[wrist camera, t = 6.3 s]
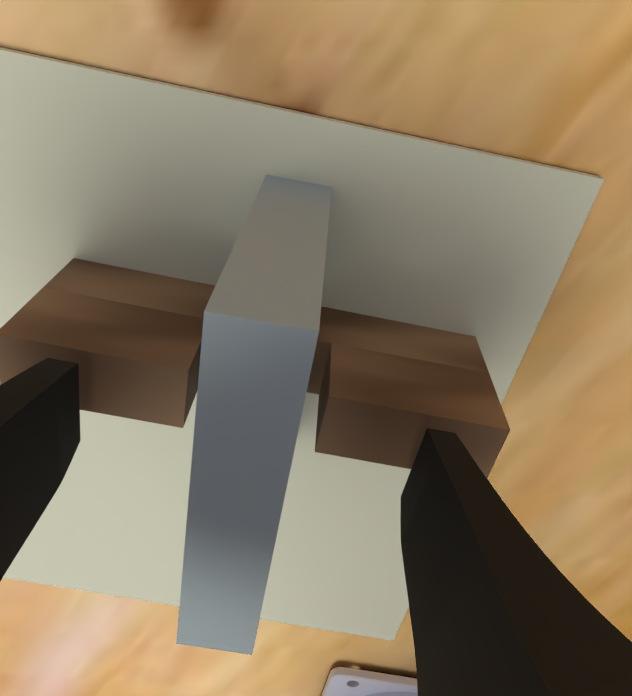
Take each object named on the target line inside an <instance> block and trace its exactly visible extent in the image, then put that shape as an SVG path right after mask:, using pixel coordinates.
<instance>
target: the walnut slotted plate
mask: <svg viewBox="0 0 632 696" xmlns="http://www.w3.org/2000/svg"><path fill="white" fill-rule="evenodd" d="M214 288H215V285H209V284H204V283H199V282H194V281H189V280H184V279H179V278H174V277H169V276H163V275H158V274H153V273H148V272H143V271H138V270H133V269H128V268H123V267H117V266H112V265H107V264H102V263H97V262H92V261H87V260H82V259H76V258H73V259H72V260H71V261H70V262H69V263H68V264H67V265H66V266H65V267H64V268H63V269H62V270H60V271H59V272H58V273H57V274H56V275H55V276H54V277H53V278H52V279H51V280H50V281H49V282H48V283H47V284H46V285H45V286H44V287H43V288H42V289H41V290H40V291H39V292H38V293H37V294H36V295H35V296H33V297H32V298H31V299H30V300H29V301H28V302H27V303H26V304H25V305H24V306H23V307H22V308H21V309H20V310H19V311H18V312H17V313H16V314H15V315H14V316H13V317H12V318H11V319H10V320H9V321H8V322H6V323H5V324H4V325H3V326H2V327H1V328H0V385H1V384H3V383H4V382H6V381H8V380H9V379H11V378H13V377H15V376H16V375H18V374H20V373H21V372H23V371H25V370H27V369H28V368H30V367H32V366H34V365H35V364H37V363H39V362H41V361H43V360H45V359H46V358H52V359H58V360H63V361H68V362H74V363H78V369H79V404H80V410H85V411H90V412H96V413H101V414H107V415H112V416H118V417H123V418H129V419H135V420H140V421H146V422H151V423H157V424H162V425H168V426H173V427H179V428H183V427H184V424H185V422H186V419H187V417H188V414H189V411H190V409H191V406H192V403H193V401H194V398H195V396H196V393H197V390H198V378H199V366H200V354H201V342H202V330H203V318H204V310H205V308H206V306H207V304H208V301H209V299H210V297H211V295H212V293H213V290H214ZM307 392H308V393H313V394H318V395H319V401H318V414H317V428H316V441H315V452H318V453H323V454H329V455H334V456H340V457H346V458H351V459H357V460H362V461H368V462H373V463H379V464H384V465H390V466H395V467H401V468H407V469H411V468H412V466H413V463H414V461H415V458H416V455H417V453H418V450H419V448H420V445H421V442H422V440H423V437H424V434H425V432H426V429H427V428H431V429H436V430H442V431H447V432H452V433H456V434H457V436H458V437H459V439H460V440H461V442H462V443H463V444H464V446H465V447H466V449H467V450H468V452H469V453H470V455H471V456H472V458H473V459H474V461H475V462H476V464H477V465H478V466H479V468H480V469H481V471H482V472H483V474H484V475H485V477H486V478H487V477H488V475H489V473H490V471H491V469H492V467H493V465H494V462H495V460H496V458H497V456H498V454H499V452H500V450H501V448H502V446H503V444H504V442H505V440H506V438H507V435H508V433H509V431H510V428H509V426H508V423H507V420H506V417H505V415H504V412H503V409H502V407H501V404H500V401H499V398H498V396H497V393H496V390H495V388H494V385H493V382H492V379H491V377H490V374H489V371H488V369H487V366H486V363H485V361H484V358H483V355H482V352H481V350H480V347H479V344H478V342H477V339H476V336H470V335H465V334H460V333H455V332H450V331H445V330H440V329H435V328H429V327H424V326H419V325H414V324H409V323H404V322H399V321H394V320H389V319H383V318H378V317H373V316H368V315H363V314H358V313H353V312H348V311H343V310H337V309H332V308H327V307H322V306H321V315H320V326H319V334H318V339H317V344H316V348H315V353H314V358H313V363H312V368H311V373H310V377H309V382H308V387H307Z"/></svg>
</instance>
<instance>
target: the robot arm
mask: <svg viewBox="0 0 632 696" xmlns="http://www.w3.org/2000/svg"><path fill="white" fill-rule="evenodd" d="M80 440H81V439H80V404H79V369H78V363H74V362H68V361H63V360H58V359H52V358H46V359H45V360H43V361H41V362H39V363H37V364H35V365H34V366H32V367H30V368H28V369H27V370H25V371H23V372H21V373H20V374H18V375H16V376H15V377H13V378H11V379H9V380H8V381H6V382H4V383H3V384H1V385H0V581H1V579H2V578H3V576H4V574H5V573H6V571H7V570H8V568H9V566H10V565H11V563H12V562H13V560H14V559H15V557H16V555H17V554H18V552H19V551H20V549H21V547H22V546H23V544H24V543H25V541H26V539H27V538H28V536H29V535H30V533H31V531H32V530H33V528H34V527H35V525H36V523H37V522H38V520H39V519H40V517H41V515H42V514H43V512H44V511H45V509H46V507H47V506H48V504H49V502H50V501H51V499H52V498H53V496H54V494H55V493H56V491H57V489H58V488H59V486H60V484H61V483H62V480H63V478H64V476H65V474H66V472H67V470H68V468H69V465H70V463H71V461H72V459H73V456H74V454H75V452H76V450H77V447H78V445H79V443H80ZM400 524H401V548H402V556H403V564H404V572H405V579H406V587H407V594H408V601H409V609H410V616H411V624H412V631H413V638H414V646H415V656H416V667H417V679H416V678H410V677H404V676H397V675H391V674H385V673H378V672H372V671H366V670H359V669H353V668H347V667H336V668H334V669H332V670H331V672H330V674H329V676H328V679H327V682H326V684H325V687H324V690H323V692H322V695H321V696H632V642H631V641H630V640H629V639H627V638H626V637H625V636H624V635H623V634H622V633H621V632H620V631H619V630H618V629H617V628H616V627H615V626H613V625H612V624H611V623H610V622H609V621H608V620H607V619H606V618H605V617H604V616H603V615H602V614H601V613H600V612H599V611H598V610H597V609H596V608H595V607H594V606H593V605H592V604H591V603H590V602H589V601H587V600H586V598H585V597H584V596H583V595H582V594H581V593H580V592H579V591H578V590H577V589H576V588H575V587H574V586H573V585H572V584H571V583H570V582H569V580H568V579H567V578H566V577H565V576H564V575H563V574H562V573H561V572H560V571H559V570H558V569H557V568H556V566H555V565H554V564H553V563H552V562H551V561H550V560H549V559H548V557H547V556H546V555H545V554H544V553H543V552H542V550H541V549H540V548H539V547H538V545H537V544H536V543H535V542H534V541H533V539H532V538H531V537H530V536H529V534H528V533H527V532H526V531H525V530H524V528H523V527H522V526H521V524H520V523H519V522H518V521H517V519H516V518H515V517H514V515H513V514H512V513H511V511H510V510H509V509H508V507H507V506H506V505H505V503H504V502H503V501H502V499H501V498H500V496H499V495H498V494H497V492H496V491H495V489H494V488H493V487H492V485H491V484H490V482H489V481H488V480H487V478H486V477H485V475H484V474H483V472H482V471H481V469H480V468H479V466H478V465H477V464H476V462H475V461H474V459H473V458H472V456H471V455H470V453H469V452H468V450H467V449H466V447H465V446H464V444H463V443H462V442H461V440H460V439H459V437H458V436H457V434H456V433H452V432H447V431H442V430H436V429H431V428H427V429H426V432H425V434H424V437H423V440H422V442H421V445H420V448H419V450H418V453H417V455H416V458H415V461H414V463H413V466H412V468H411V471H410V474H409V476H408V479H407V482H406V484H405V487H404V489H403V492H402V495H401V515H400Z"/></svg>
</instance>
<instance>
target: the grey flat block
mask: <svg viewBox="0 0 632 696" xmlns="http://www.w3.org/2000/svg"><path fill="white" fill-rule="evenodd" d="M331 190H332V187H329V186H324V185H318V184H313V183H308V182H303V181H297V180H292V179H287V178H282V177H276V176H271V175H266V176H265V178H264V181H263V183H262V185H261V187H260V189H259V191H258V194H257V196H256V198H255V200H254V202H253V205H252V207H251V209H250V211H249V213H248V216H247V218H246V220H245V222H244V224H243V227H242V229H241V231H240V233H239V235H238V238H237V240H236V242H235V244H234V246H233V249H232V251H231V253H230V255H229V257H228V260H227V262H226V264H225V266H224V268H223V271H222V273H221V275H220V277H219V279H218V282H217V284H216V286H215V288H214V290H213V293H212V295H211V297H210V299H209V301H208V304H207V306H206V308H205V310H204V318H203V330H202V342H201V354H200V366H199V378H198V390H197V402H196V414H195V426H194V438H193V450H192V462H191V474H190V486H189V498H188V510H187V522H186V534H185V546H184V558H183V570H182V582H181V594H180V606H179V618H178V630H177V642H176V644H182V645H189V646H196V647H203V648H210V649H216V650H223V651H230V652H237V653H243V654H250V655H252V653H253V648H254V643H255V638H256V634H257V629H258V624H259V619H260V614H261V609H262V605H263V600H264V595H265V590H266V585H267V580H268V576H269V571H270V566H271V561H272V556H273V551H274V547H275V542H276V537H277V532H278V527H279V522H280V518H281V513H282V508H283V503H284V498H285V493H286V489H287V484H288V479H289V474H290V469H291V464H292V460H293V455H294V450H295V445H296V440H297V435H298V431H299V426H300V421H301V416H302V411H303V406H304V402H305V397H306V392H307V387H308V382H309V377H310V373H311V368H312V363H313V358H314V353H315V348H316V344H317V339H318V334H319V326H320V315H321V303H322V292H323V280H324V269H325V258H326V246H327V235H328V224H329V212H330V201H331Z"/></svg>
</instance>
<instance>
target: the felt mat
mask: <svg viewBox="0 0 632 696" xmlns="http://www.w3.org/2000/svg"><path fill="white" fill-rule="evenodd" d="M266 175H271V176H276V177H282V178H287V179H292V180H297V181H303V182H308V183H313V184H318V185H324V186H329V187H332V190H331V201H330V212H329V224H328V235H327V246H326V258H325V269H324V280H323V292H322V303H321V306H322V307H327V308H332V309H337V310H343V311H348V312H353V313H358V314H363V315H368V316H373V317H378V318H383V319H389V320H394V321H399V322H404V323H409V324H414V325H419V326H424V327H429V328H435V329H440V330H445V331H450V332H455V333H460V334H465V335H470V336H476V339H477V342H478V344H479V347H480V350H481V352H482V355H483V358H484V361H485V363H486V366H487V369H488V371H489V374H490V377H491V379H492V382H493V385H494V388H495V390H496V393H497V396H498V398H499V401H500V404H501V405H502V402H503V400H504V398H505V396H506V394H507V391H508V389H509V387H510V385H511V383H512V381H513V378H514V376H515V374H516V372H517V370H518V367H519V365H520V363H521V361H522V359H523V356H524V354H525V352H526V350H527V348H528V346H529V343H530V341H531V339H532V337H533V335H534V332H535V330H536V328H537V326H538V324H539V321H540V319H541V317H542V315H543V313H544V311H545V308H546V306H547V304H548V302H549V300H550V297H551V295H552V293H553V291H554V289H555V286H556V284H557V282H558V280H559V278H560V276H561V273H562V271H563V269H564V267H565V265H566V262H567V260H568V258H569V256H570V254H571V251H572V249H573V247H574V245H575V243H576V241H577V238H578V236H579V234H580V232H581V230H582V227H583V225H584V223H585V221H586V219H587V216H588V214H589V212H590V210H591V208H592V206H593V203H594V201H595V199H596V197H597V195H598V192H599V190H600V188H601V186H602V184H603V182H604V179H603V178H601V177H600V176H597V175H592V174H587V173H583V172H578V171H573V170H569V169H564V168H559V167H555V166H550V165H546V164H541V163H536V162H532V161H527V160H522V159H518V158H513V157H508V156H504V155H499V154H494V153H490V152H485V151H481V150H476V149H471V148H467V147H462V146H457V145H453V144H448V143H443V142H439V141H434V140H429V139H425V138H420V137H416V136H411V135H406V134H402V133H397V132H392V131H388V130H383V129H378V128H374V127H369V126H364V125H360V124H355V123H350V122H346V121H341V120H337V119H332V118H327V117H323V116H318V115H313V114H309V113H304V112H299V111H295V110H290V109H285V108H281V107H276V106H272V105H267V104H262V103H258V102H253V101H248V100H244V99H239V98H234V97H230V96H225V95H220V94H216V93H211V92H207V91H202V90H197V89H193V88H188V87H183V86H179V85H174V84H169V83H165V82H160V81H155V80H151V79H146V78H141V77H137V76H132V75H128V74H123V73H118V72H114V71H109V70H104V69H100V68H95V67H90V66H86V65H81V64H76V63H72V62H67V61H63V60H58V59H53V58H49V57H44V56H39V55H35V54H30V53H25V52H21V51H16V50H11V49H7V48H2V47H0V328H1V327H2V326H3V325H4V324H5V323H6V322H8V321H9V320H10V319H11V318H12V317H13V316H14V315H15V314H16V313H17V312H18V311H19V310H20V309H21V308H22V307H23V306H24V305H25V304H26V303H27V302H28V301H29V300H30V299H31V298H32V297H33V296H35V295H36V294H37V293H38V292H39V291H40V290H41V289H42V288H43V287H44V286H45V285H46V284H47V283H48V282H49V281H50V280H51V279H52V278H53V277H54V276H55V275H56V274H57V273H58V272H59V271H60V270H62V269H63V268H64V267H65V266H66V265H67V264H68V263H69V262H70V261H71V260H72V259H73V258H76V259H82V260H87V261H92V262H97V263H102V264H107V265H112V266H117V267H123V268H128V269H133V270H138V271H143V272H148V273H153V274H158V275H163V276H169V277H174V278H179V279H184V280H189V281H194V282H199V283H204V284H209V285H215V286H216V284H217V282H218V279H219V277H220V275H221V273H222V271H223V268H224V266H225V264H226V262H227V260H228V257H229V255H230V253H231V251H232V249H233V246H234V244H235V242H236V240H237V238H238V235H239V233H240V231H241V229H242V227H243V224H244V222H245V220H246V218H247V216H248V213H249V211H250V209H251V207H252V205H253V202H254V200H255V198H256V196H257V194H258V191H259V189H260V187H261V185H262V183H263V181H264V178H265V176H266ZM318 401H319V395H318V394H313V393H308V392H306V397H305V402H304V406H303V411H302V416H301V421H300V426H299V431H298V435H297V440H296V445H295V450H294V455H293V460H292V464H291V469H290V474H289V479H288V484H287V489H286V493H285V498H284V503H283V508H282V513H281V518H280V522H279V527H278V532H277V537H276V542H275V547H274V551H273V556H272V561H271V566H270V571H269V576H268V580H267V585H266V590H265V595H264V600H263V605H262V609H261V614H260V619H261V620H268V621H274V622H280V623H286V624H292V625H298V626H305V627H311V628H317V629H323V630H329V631H335V632H342V633H348V634H354V635H360V636H366V637H373V638H379V639H385V640H391V641H394V639H395V636H396V634H397V632H398V630H399V628H400V625H401V623H402V621H403V619H404V617H405V615H406V612H407V610H408V608H409V601H408V594H407V587H406V579H405V572H404V564H403V556H402V548H401V524H400V515H401V495H402V492H403V489H404V487H405V484H406V482H407V479H408V476H409V474H410V471H411V469H407V468H401V467H395V466H390V465H384V464H379V463H373V462H368V461H362V460H357V459H351V458H346V457H340V456H334V455H329V454H323V453H318V452H315V441H316V428H317V414H318ZM196 402H197V393H196V396H195V398H194V401H193V403H192V406H191V409H190V411H189V414H188V417H187V419H186V422H185V424H184V427H183V428H179V427H173V426H168V425H162V424H157V423H151V422H146V421H140V420H135V419H129V418H123V417H118V416H112V415H107V414H101V413H96V412H90V411H85V410H80V439H81V440H80V443H79V445H78V447H77V450H76V452H75V454H74V456H73V459H72V461H71V463H70V465H69V468H68V470H67V472H66V474H65V476H64V478H63V480H62V483H61V484H60V486H59V488H58V489H57V491H56V493H55V494H54V496H53V498H52V499H51V501H50V502H49V504H48V506H47V507H46V509H45V511H44V512H43V514H42V515H41V517H40V519H39V520H38V522H37V523H36V525H35V527H34V528H33V530H32V531H31V533H30V535H29V536H28V538H27V539H26V541H25V543H24V544H23V546H22V547H21V549H20V551H19V552H18V554H17V555H16V557H15V559H14V560H13V562H12V563H11V565H10V566H9V568H8V570H7V571H6V573H5V574H4V576H3V578H8V579H14V580H20V581H26V582H33V583H39V584H45V585H51V586H57V587H64V588H70V589H76V590H82V591H88V592H94V593H101V594H107V595H113V596H119V597H125V598H132V599H138V600H144V601H150V602H156V603H162V604H169V605H175V606H180V594H181V582H182V570H183V558H184V546H185V534H186V522H187V510H188V498H189V486H190V474H191V462H192V450H193V438H194V426H195V414H196Z"/></svg>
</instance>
